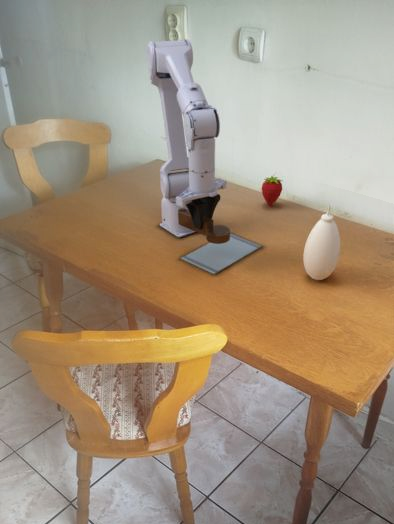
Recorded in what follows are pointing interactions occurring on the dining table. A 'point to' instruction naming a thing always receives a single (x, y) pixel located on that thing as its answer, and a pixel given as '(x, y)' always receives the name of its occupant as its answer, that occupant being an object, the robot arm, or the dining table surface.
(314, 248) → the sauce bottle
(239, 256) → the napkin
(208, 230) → the spoon
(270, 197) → the strawberry
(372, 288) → the dining table surface
